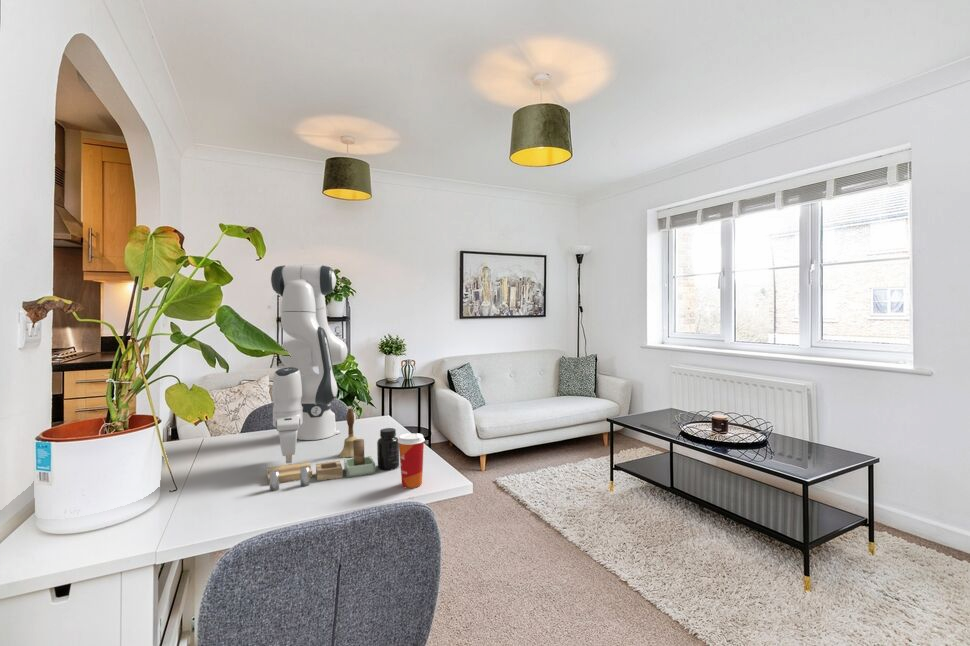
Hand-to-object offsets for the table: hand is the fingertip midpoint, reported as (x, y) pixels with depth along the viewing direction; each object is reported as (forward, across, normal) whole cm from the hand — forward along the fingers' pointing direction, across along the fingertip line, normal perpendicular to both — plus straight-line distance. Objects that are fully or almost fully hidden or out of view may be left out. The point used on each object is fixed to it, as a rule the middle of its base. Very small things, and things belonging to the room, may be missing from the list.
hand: (289, 461), depth 148 cm
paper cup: (+2, +32, +32) cm, 45 cm away
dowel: (+1, +13, +20) cm, 24 cm away
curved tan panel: (+2, +9, 0) cm, 9 cm away
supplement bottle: (+2, +14, +29) cm, 32 cm away
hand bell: (+2, -5, +20) cm, 21 cm away
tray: (+2, +14, +20) cm, 24 cm away
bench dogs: (+2, +19, 0) cm, 19 cm away
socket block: (+2, +14, +11) cm, 18 cm away
